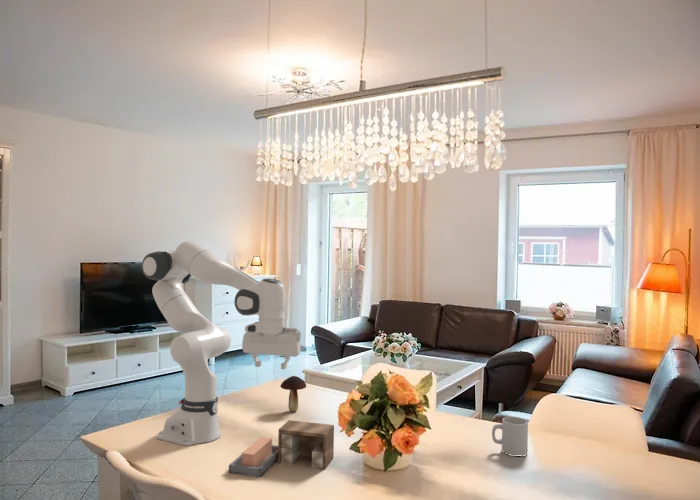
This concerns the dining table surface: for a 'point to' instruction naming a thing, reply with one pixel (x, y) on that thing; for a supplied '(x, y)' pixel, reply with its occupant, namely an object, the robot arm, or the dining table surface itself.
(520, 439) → the mug
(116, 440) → the dining table surface
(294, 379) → the decorative mushroom
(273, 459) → the tray
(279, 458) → the shelf
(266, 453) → the block
